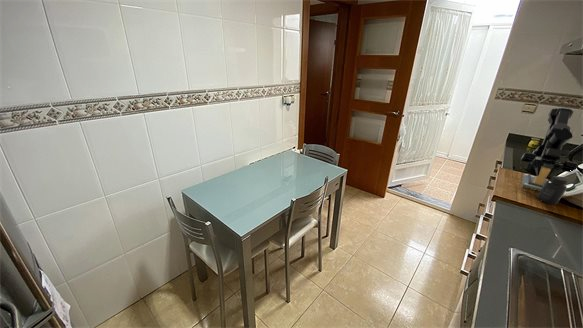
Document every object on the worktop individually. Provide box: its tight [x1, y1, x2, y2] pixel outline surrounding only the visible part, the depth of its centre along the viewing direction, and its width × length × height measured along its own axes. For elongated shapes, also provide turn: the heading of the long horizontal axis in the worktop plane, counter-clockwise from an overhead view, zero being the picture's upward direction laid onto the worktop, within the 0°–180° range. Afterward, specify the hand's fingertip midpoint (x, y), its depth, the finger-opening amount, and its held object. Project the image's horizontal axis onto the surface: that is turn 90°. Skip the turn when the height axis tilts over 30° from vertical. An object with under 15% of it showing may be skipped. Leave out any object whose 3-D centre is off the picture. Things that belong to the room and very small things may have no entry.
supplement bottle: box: [537, 175, 569, 205], centre depth 106 cm, size 7×7×12 cm
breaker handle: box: [531, 166, 551, 188], centre depth 116 cm, size 4×4×9 cm
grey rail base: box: [521, 173, 550, 192], centre depth 121 cm, size 16×10×3 cm, turn 138°
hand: (542, 176), depth 115 cm, fingers closed on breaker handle, 3 cm apart
